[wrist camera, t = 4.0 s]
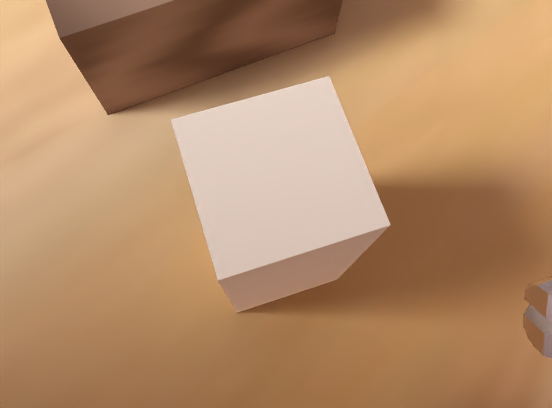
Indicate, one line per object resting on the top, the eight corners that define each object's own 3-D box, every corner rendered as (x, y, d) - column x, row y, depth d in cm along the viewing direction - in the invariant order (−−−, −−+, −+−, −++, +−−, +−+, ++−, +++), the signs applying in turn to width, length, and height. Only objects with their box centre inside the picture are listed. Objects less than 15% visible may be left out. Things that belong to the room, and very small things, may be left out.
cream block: (236, 312, 20) (217, 280, 11) (207, 214, 21) (170, 119, 13) (337, 279, 21) (390, 225, 12) (302, 186, 22) (328, 76, 13)
